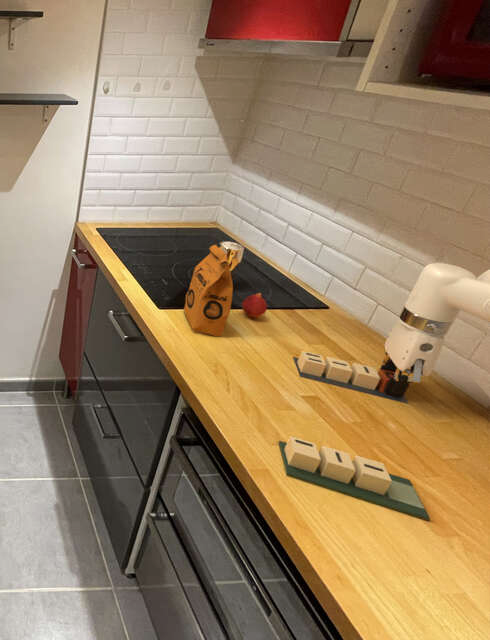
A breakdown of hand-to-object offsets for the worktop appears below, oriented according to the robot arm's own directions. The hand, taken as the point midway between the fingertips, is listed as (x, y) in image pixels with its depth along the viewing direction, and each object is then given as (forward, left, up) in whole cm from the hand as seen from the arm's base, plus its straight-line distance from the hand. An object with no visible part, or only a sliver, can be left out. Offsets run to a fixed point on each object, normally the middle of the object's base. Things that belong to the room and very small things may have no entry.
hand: (388, 386), depth 101 cm
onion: (+24, -21, -1) cm, 32 cm away
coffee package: (+37, -11, -1) cm, 39 cm away
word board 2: (+15, +32, -1) cm, 36 cm away
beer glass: (+31, -36, -1) cm, 48 cm away
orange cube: (0, 0, -1) cm, 1 cm away
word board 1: (+7, 0, -1) cm, 8 cm away
